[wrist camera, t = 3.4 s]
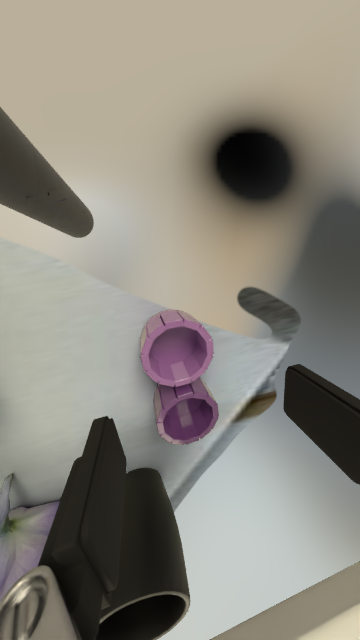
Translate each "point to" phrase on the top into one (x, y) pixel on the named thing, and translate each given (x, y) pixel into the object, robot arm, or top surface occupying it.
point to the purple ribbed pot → (175, 348)
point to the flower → (21, 537)
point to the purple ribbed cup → (185, 412)
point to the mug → (147, 565)
